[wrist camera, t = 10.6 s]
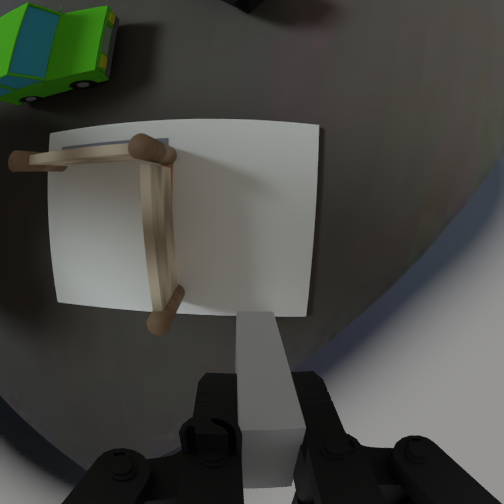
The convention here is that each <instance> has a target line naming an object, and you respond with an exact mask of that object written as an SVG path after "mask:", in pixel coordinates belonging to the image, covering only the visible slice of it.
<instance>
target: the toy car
mask: <svg viewBox="0 0 504 504" xmlns="http://www.w3.org/2000/svg"><path fill="white" fill-rule="evenodd" d="M61 10H62V6H61V8H60V12H56V11H53V10H51V9H48V8H45V7H42V6H38V5H35V4H32V3H29V2H28V3H26V4H24V5H22V6H20V7H18V8H16V9H14V10H13V11H11V12H9V13H7V14H5V15H4V16H2V17H0V101H3V102H7V103H11V104H15V105H21V104H24V102H36V101H40V100H42V98H43V97H46V96H50V95H54V94H57V93H61V92H65V91H69V90H72V89H73V88H76V89H87V88H91V87H94V86H96V85H97V83H99V82H103V81H107V80H108V79H109V77H110V71H111V64H112V57H113V51H114V45H115V40H116V34H117V29H118V24H119V19H118V18H117V16H116V15H115V13H114V12H113V11H112V10H111V8H109V6H102V7H95V8H90V9H84V10H79V11H74V12H70V13H65V14H62V13H61Z"/></svg>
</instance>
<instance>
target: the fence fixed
mask: <svg viewBox="0 0 504 504" xmlns="http://www.w3.org/2000/svg"><path fill="white" fill-rule="evenodd" d="M176 157H177V153H176V151H175V149H174V148H172V147H170V146H168V145H166V144H164V143H162V142H160V141H158V140H156V139H154V138H152V137H150V136H148V135H146V134H144V133H139V134H136V135H134V136H133V137H132V138H131V139H130V141H129V143H124V144H112V145H101V146H91V147H82V148H74V149H66V150H59V151H52V152H46V153H42V152H30V151H18V150H15V151H13V152H12V153H11V154H10V156H9V160H8V166H9V169H10V170H11V171H12V172H33V171H52V172H62V171H64V170H66V168H67V167H68V166H70V165H80V164H92V163H104V162H119V161H138V160H144V161H149V162H153V163H158V164H162V165H170V164H172V163H174V162H175V160H176Z"/></svg>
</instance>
